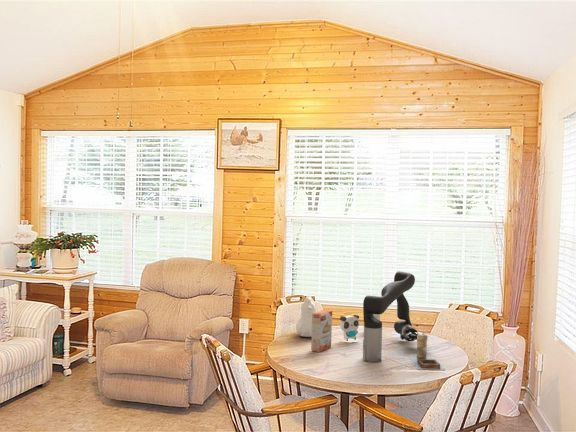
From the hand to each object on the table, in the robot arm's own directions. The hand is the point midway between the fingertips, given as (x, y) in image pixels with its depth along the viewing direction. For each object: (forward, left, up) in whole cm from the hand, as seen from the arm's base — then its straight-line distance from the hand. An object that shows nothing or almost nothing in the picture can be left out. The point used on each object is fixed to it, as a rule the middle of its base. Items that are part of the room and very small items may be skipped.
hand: (416, 339), depth 291 cm
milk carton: (-16, +50, -8) cm, 54 cm away
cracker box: (-51, +8, -8) cm, 52 cm away
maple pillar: (0, -10, -7) cm, 12 cm away
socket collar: (0, -24, -8) cm, 25 cm away
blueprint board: (0, -18, -8) cm, 19 cm away
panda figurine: (-33, +28, -8) cm, 44 cm away
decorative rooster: (-56, +42, -8) cm, 70 cm away
